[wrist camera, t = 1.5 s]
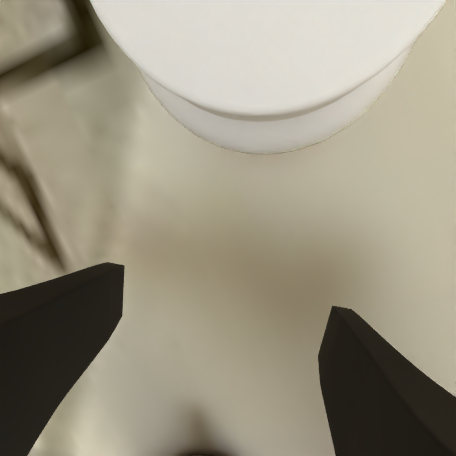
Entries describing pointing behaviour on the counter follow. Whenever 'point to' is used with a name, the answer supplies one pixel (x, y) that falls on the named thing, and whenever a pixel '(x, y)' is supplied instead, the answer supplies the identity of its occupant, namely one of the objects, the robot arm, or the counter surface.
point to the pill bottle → (266, 62)
